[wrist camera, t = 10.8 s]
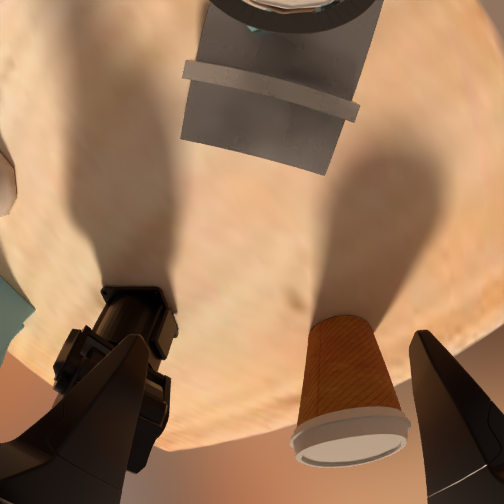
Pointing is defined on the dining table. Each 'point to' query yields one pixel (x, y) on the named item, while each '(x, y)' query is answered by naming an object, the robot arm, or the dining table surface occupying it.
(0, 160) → the flask
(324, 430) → the disposable coffee cup
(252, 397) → the dining table surface
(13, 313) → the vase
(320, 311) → the dining table surface
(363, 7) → the push button
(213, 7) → the bracket
